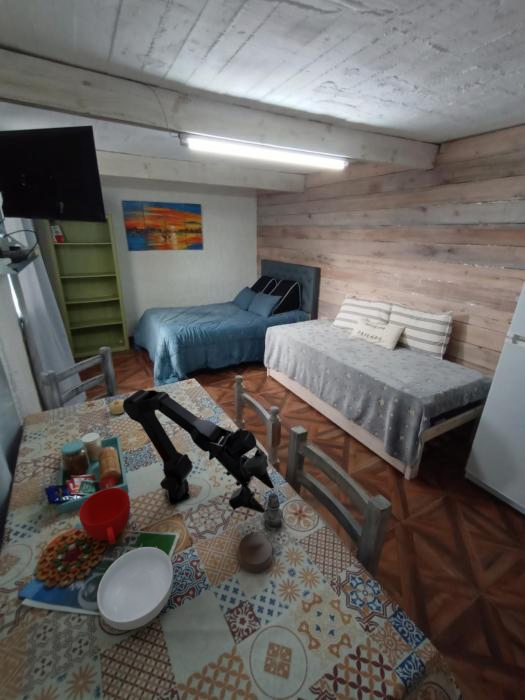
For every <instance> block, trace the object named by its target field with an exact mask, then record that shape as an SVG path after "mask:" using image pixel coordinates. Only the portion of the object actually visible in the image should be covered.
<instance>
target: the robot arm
mask: <svg viewBox="0 0 525 700" xmlns="http://www.w3.org/2000/svg"><path fill="white" fill-rule="evenodd" d="M123 400H124V402H123V409H124V413H125V414H126V415H127V416H128V417H129V418H130V420H132V421H134V422H136V423H138V424H139V425H140V426H141V428H142V429H143V431H144V432H145V434H146V435H147V437H148V439H149V440H150V442H151V444H152V445H153V447H154V449H155V450H156V451H157V453H158V455H159V456H160V458H161V460H162V463H163V473H164V477H163V479H162V480H161V481H160V483H159V485H160V487H161V489H162V490H165V492H164V494H165V496H166V498H167V500H168V503H169V505H170V506H171V507H172V506H174V505H176V504H179V503H181V502H183V501H185V500H187V499H189V498H191V497H190V493H189V492H190V485H189V481H188V480H187V479H188V476H189V475H190V474H191V473H192V471H193V469H194V467H193V461H192V460H191V459H190V457H189V455H188V454H187V453H180V452H179V451H178V450H177V449H176V447H175V445H174V444H173V442H172V440H171V438H170V437H169V435H168V434H167V432H166V430H165V429H164V427H163V425H162V423H161V422H160V420H159V418H158V416H157V415H156V411H158V412H160V413H161V414H162V415H164V416H165V417H166V418H168V419H169V420H170V421H172V422H173V423H175V424H176V425H177V426H179V427H180V428H181V429H183V430H184V431H185V432H187V433H188V434H189V436H190V438H191V441H192V442H193V444H195V445H196V446H197V447H198V448H199V450H201V451H203V452H206V453H207V452H208V453H209V454H208V460H209V461H212V460H213V459H215V460H217V462H218V463H219V464H220V465H221V466H222V467H223V468H224V469H225V471H226V472H225V474H226V476H228V477H229V476H232V477H233V478H234V480H235V485H236V486H237V487H239V486H240V487H239V488H237V489H235V490H234V491H233V492H232V494H231V496H230V498H229V500H228V505H229V507H231V508H232V510H234V511H235V510H236V509H240V508H246V509H249V510H252V511H256V512H258V513H261V514H264V512H265V508H264V507H263V506H262V505H261V503H259V501H258V500H257V499H256V498H255V492H253V491H252V490H251V488H250V485H251V483H252V480H253V479H254V478H256V480H258V481H260V482H261V483H262V484H263V485H265V486H266V487H267V488H269V489H271V490H273V489H275V486H274V484H273V483H274V482H273V481H272V479H271V477H270V474H269V472H268V470H267V469H268V467H269V463H268V458H269V457H268V455H267V454H266V453H265V451H263V450H262V449H261V448H259V449H256V450H255V453H254V455H252V456H251V457H249V456H247V455H246V454H247V453H249V452H250V451H252V450H253V449H255V448H256V447H257V439H256V436H255V435H254V433H253V432H252V431H250V430H249V429H242V428H241V427H238V428H237V429H236V430H235V431H234V430H231V429H228V428H225V427H222V426H220V425H218V424H216V423H214V422H212V421H210V420H209V419H202V418H200V417H198V416H196V415H195V414H194V413H193V412H191V411H190V410H189V409H187V408H186V407H184V406H183V405H182V404H181V403H179V402H177V401H176V400H175V399H173V398H172V397H170V395H169V393H168V392H166V391H157V390H155V389H151V390H150V389H149V390H145V389H138V390H136V392H134V393H133V394H131V395H130V396H128V397H127V398H125V399H123Z"/></svg>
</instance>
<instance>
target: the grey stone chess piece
mask: <svg viewBox="0 0 525 700" xmlns="http://www.w3.org/2000/svg"><path fill="white" fill-rule="evenodd" d="M264 510H265V512H264V513H263V519H264V522H263V523H264V527H265V528H266V529H267V530H268V531H273V532H275V531H278V530H279V529H281V528H282V525H283V522H282V520H283V518H284V512H283V510H282V509H281V508H280V502H279V495H278V494H277V493H275V492H272V493H270V494H269V495H268V502H267V506H266V508H264Z"/></svg>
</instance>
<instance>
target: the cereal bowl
mask: <svg viewBox="0 0 525 700" xmlns="http://www.w3.org/2000/svg"><path fill="white" fill-rule="evenodd" d="M174 577H175V576H174V567H173V563H172V560H171V559H170V556H169V555H168V554H167V553H166V552H165V551H163V549H160V548H157V547H153V546H143V547H138V548H134V549H131V550H129V551H127V552H125V553H123V554H122V555H120V557H118V558H117V559H116V560H114V562H112V563H111V565H110V566H108V568H107V570H106V571H105V573H104V574H103V576H102V577H101V579H100V582H99V585H98V588H97V593H96V603H97V609H98V612H99V614H100V616H101V618H102V619H103V621H104V622H105V624H107V625H109V626H110V628H111V627H112V629H113V628H114V629H115V630H120V631H131V630H135V629H138V628H140V627H143V626H145V625H147V624H148V623H150V622H151V621H153V620H154V619H155V618H156V617H157V616H158V615H159V614H160V612H162V611H163V609H164V608H165V606H166V605H167V603H168V601H169V599H170V597H171V594H172V591H173V587H174V580H175V579H174Z"/></svg>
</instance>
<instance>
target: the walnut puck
mask: <svg viewBox="0 0 525 700" xmlns="http://www.w3.org/2000/svg"><path fill="white" fill-rule="evenodd" d="M272 559H273V544H272V542H271V540H270V538H269V537H268V536H267V535H265V534H263V533H261V532H250V533H248V534H246V535H245V536H243V537H242V539H241V540H240V542H239V544H238V561H239V564H240V566H241V567H242V569H244V570H245V571H246V572H248V573H251V574H260V573H262V572H264V571H266V570H267V569H268V568H269V566H270V565H271V563H272V561H273V560H272Z"/></svg>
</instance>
